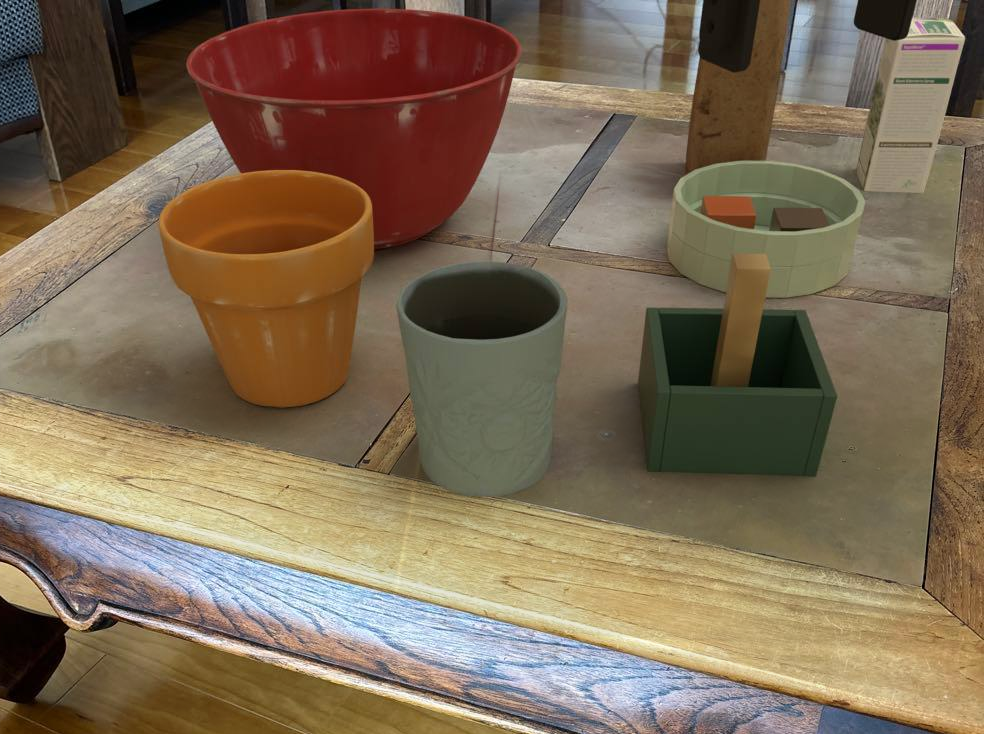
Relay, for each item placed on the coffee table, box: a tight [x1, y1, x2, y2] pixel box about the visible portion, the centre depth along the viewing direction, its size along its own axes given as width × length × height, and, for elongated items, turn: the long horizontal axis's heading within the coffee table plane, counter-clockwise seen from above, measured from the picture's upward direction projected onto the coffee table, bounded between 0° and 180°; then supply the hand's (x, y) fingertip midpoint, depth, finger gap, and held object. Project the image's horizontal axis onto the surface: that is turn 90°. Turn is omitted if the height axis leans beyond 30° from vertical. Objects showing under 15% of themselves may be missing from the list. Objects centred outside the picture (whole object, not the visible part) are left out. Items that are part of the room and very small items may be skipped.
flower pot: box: [157, 170, 375, 408], centre depth 72 cm, size 14×14×13 cm
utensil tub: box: [637, 307, 838, 478], centre depth 67 cm, size 11×11×7 cm
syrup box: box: [855, 17, 966, 194], centre depth 95 cm, size 6×6×14 cm
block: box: [684, 0, 792, 176], centre depth 95 cm, size 11×8×20 cm
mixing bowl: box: [185, 8, 523, 250], centre depth 92 cm, size 28×28×16 cm
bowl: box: [666, 160, 866, 299], centre depth 87 cm, size 15×15×6 cm
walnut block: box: [769, 208, 830, 232], centre depth 86 cm, size 4×4×4 cm
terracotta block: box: [700, 196, 756, 229], centre depth 88 cm, size 4×4×4 cm
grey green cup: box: [395, 261, 568, 498], centre depth 64 cm, size 10×10×12 cm
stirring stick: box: [711, 254, 771, 387], centre depth 65 cm, size 2×2×12 cm
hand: (802, 48), depth 50 cm, fingers open, 9 cm apart
